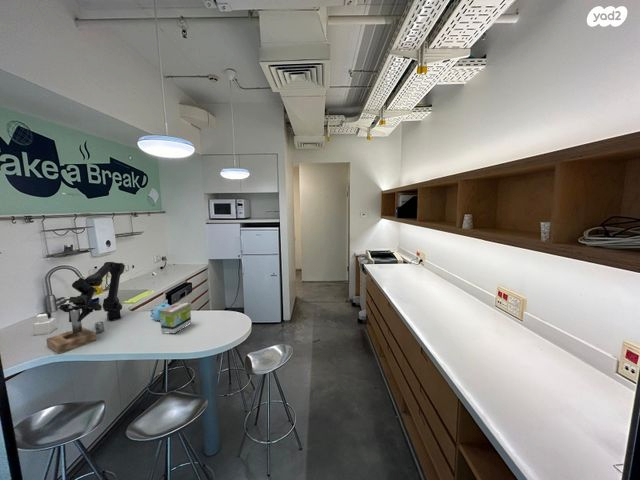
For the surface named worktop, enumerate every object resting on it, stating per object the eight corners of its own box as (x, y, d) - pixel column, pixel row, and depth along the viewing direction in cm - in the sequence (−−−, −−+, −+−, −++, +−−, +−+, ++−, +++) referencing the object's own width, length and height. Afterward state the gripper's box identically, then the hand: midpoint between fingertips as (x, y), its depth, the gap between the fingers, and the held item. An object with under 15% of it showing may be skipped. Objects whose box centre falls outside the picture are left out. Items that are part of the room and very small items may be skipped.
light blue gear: (147, 319, 179) (146, 305, 178) (169, 311, 192) (168, 298, 190) (159, 324, 172) (157, 309, 170) (181, 316, 184) (180, 302, 183)
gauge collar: (83, 333, 158) (82, 327, 158) (95, 340, 151) (95, 333, 150) (47, 346, 145) (46, 338, 144) (58, 354, 137) (57, 346, 136)
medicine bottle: (42, 330, 163) (39, 312, 162) (56, 328, 166) (54, 310, 164) (34, 335, 157) (31, 316, 155) (50, 333, 159) (47, 314, 157)
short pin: (102, 330, 164) (101, 321, 163) (105, 331, 162) (104, 322, 161) (94, 332, 160) (93, 323, 159) (97, 334, 158) (96, 325, 157)
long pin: (83, 329, 150) (80, 307, 148) (81, 332, 147) (78, 310, 145) (73, 331, 148) (70, 309, 146) (72, 334, 144) (69, 311, 143)
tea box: (175, 335, 158) (173, 311, 156) (160, 333, 160) (159, 310, 158) (191, 324, 172) (190, 302, 170) (178, 322, 174) (177, 301, 172)
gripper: (59, 290, 146) (44, 317, 137) (96, 289, 149) (84, 315, 140) (71, 299, 155) (59, 324, 146) (106, 297, 158) (96, 322, 149)
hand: (74, 321), depth 145 cm, fingers closed on long pin, 4 cm apart
